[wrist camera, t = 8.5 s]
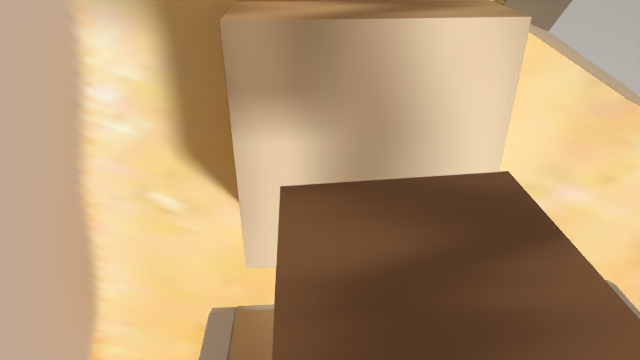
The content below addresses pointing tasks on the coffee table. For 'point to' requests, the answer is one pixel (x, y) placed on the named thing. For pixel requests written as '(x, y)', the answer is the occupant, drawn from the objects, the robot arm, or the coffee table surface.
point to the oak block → (363, 95)
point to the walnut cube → (437, 276)
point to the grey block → (592, 37)
